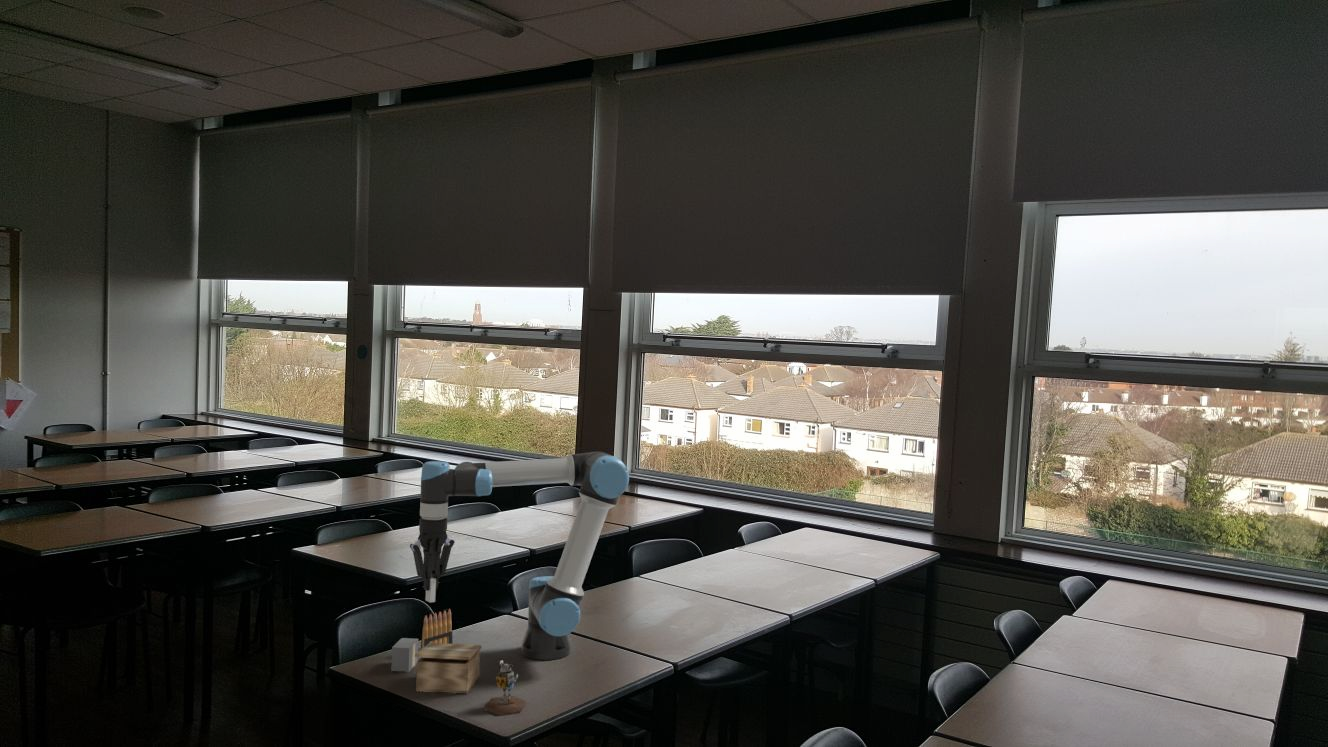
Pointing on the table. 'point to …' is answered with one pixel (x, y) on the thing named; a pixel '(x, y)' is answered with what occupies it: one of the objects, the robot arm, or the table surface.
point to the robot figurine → (509, 702)
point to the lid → (448, 651)
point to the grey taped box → (404, 654)
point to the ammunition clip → (437, 629)
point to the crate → (447, 674)
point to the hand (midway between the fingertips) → (430, 600)
